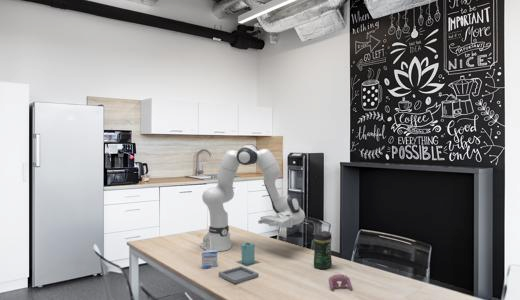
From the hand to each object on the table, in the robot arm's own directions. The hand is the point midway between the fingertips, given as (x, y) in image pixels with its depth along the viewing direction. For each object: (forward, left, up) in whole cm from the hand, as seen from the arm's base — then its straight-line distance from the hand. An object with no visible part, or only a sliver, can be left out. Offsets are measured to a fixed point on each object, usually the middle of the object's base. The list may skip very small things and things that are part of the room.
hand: (264, 223), depth 204 cm
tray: (+13, -28, -20) cm, 37 cm away
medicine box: (-9, -31, -20) cm, 38 cm away
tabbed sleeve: (0, -12, -20) cm, 23 cm away
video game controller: (+55, -2, -20) cm, 58 cm away
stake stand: (0, -12, -20) cm, 23 cm away
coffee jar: (+31, +14, -20) cm, 40 cm away
